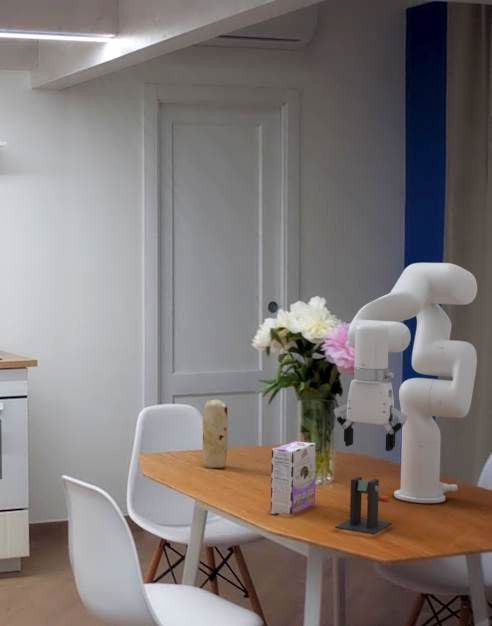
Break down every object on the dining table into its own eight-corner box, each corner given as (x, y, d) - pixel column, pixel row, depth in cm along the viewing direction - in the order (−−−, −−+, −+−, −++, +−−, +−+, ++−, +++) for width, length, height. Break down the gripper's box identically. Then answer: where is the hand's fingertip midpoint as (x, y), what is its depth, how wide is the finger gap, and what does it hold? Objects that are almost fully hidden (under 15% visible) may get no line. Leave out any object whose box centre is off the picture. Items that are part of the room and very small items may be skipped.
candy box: (293, 503, 272) (295, 440, 271) (315, 507, 268) (317, 442, 267) (269, 514, 261) (270, 447, 260) (291, 517, 258) (293, 450, 257)
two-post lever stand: (354, 521, 254) (355, 472, 254) (391, 527, 249) (393, 477, 248) (334, 531, 245) (336, 481, 244) (373, 538, 240) (374, 486, 239)
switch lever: (367, 502, 256) (369, 492, 256) (388, 505, 252) (390, 495, 253) (351, 489, 247) (353, 479, 247) (372, 492, 244) (374, 481, 244)
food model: (232, 469, 316) (233, 402, 314) (213, 470, 313) (214, 403, 312) (215, 462, 325) (216, 397, 324) (196, 464, 322) (197, 398, 321)
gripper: (413, 377, 248) (411, 450, 249) (341, 371, 258) (339, 441, 259) (402, 379, 242) (400, 454, 243) (329, 374, 253) (327, 445, 253)
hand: (369, 447), depth 251 cm, fingers open, 9 cm apart
